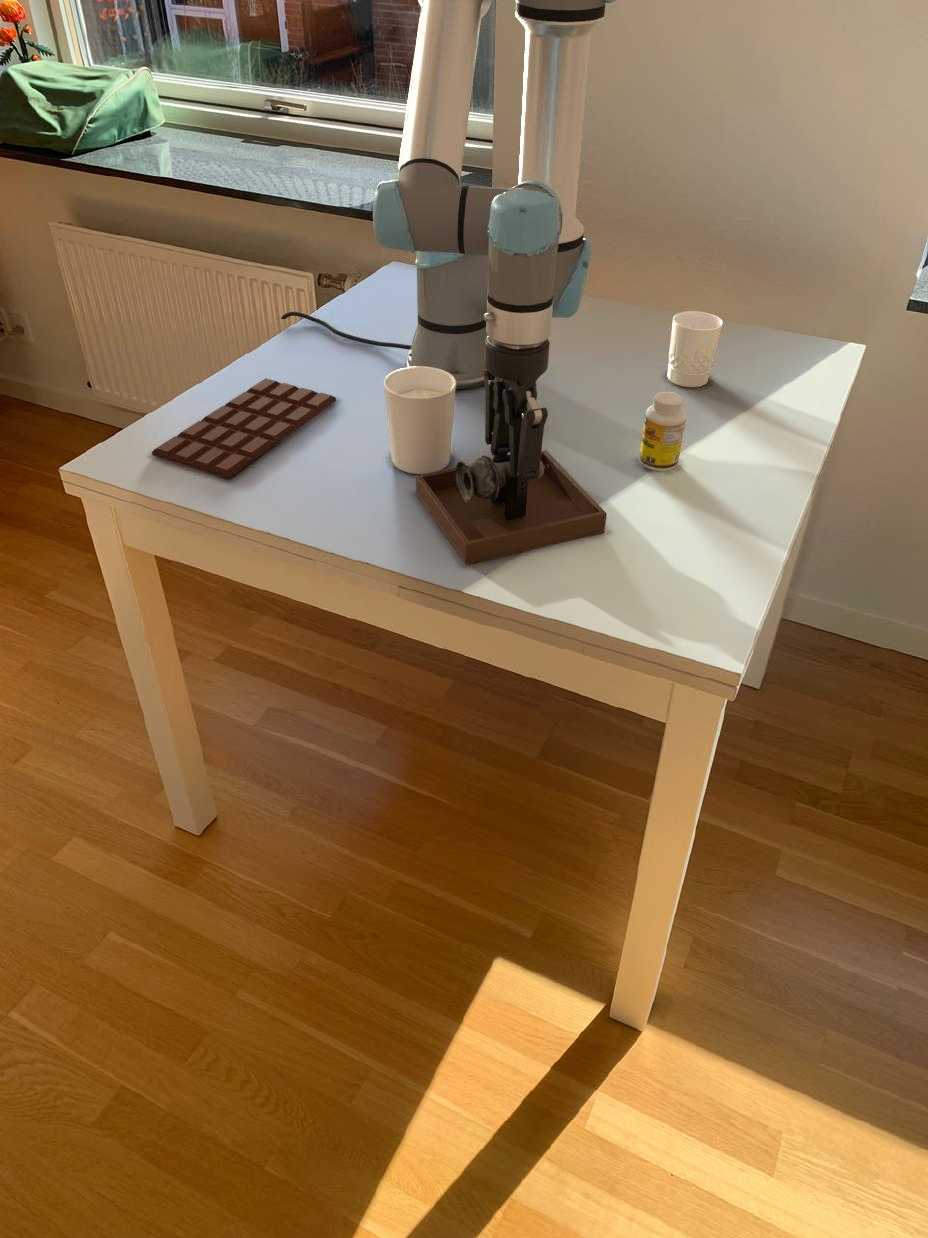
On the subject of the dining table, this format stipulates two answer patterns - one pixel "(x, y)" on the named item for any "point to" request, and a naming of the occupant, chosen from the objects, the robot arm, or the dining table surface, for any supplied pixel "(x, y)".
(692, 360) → the white cup
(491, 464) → the salt shaker
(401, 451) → the candle holder
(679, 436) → the supplement bottle
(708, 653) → the dining table surface
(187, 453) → the chocolate bar
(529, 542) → the tray
